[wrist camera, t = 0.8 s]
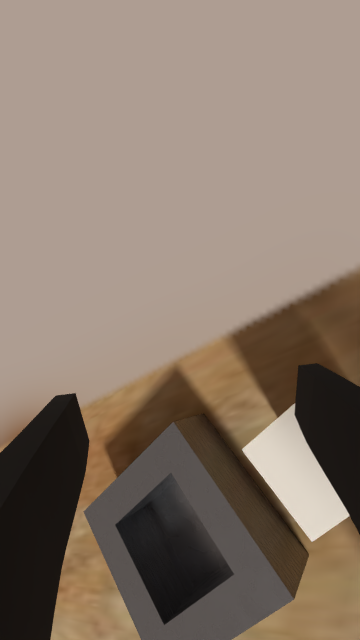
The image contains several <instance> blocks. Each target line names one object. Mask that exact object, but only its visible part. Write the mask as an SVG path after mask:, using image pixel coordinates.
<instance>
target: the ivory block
mask: <svg viewBox="0 0 360 640" xmlns="http://www.w3.org/2000/svg"><path fill="white" fill-rule="evenodd" d="M294 414H295V403H294V404H293V405H292V406H291V407H290V408H289V409H288V410H286V411H285V412H284V413H283V414H282V415H281V416H280V417H278V418H277V419H276V420H275V421H274V422H273V423H272V424H270V425H269V426H268V427H267V428H266V429H265V430H264V431H263V432H261V433H260V434H259V435H258V436H257V437H256V438H255V439H253V440H252V441H251V442H250V443H249V444H248V445H247V446H245V447H244V448H243V449H242V451H243V452H244V453H245V455H246V456H247V457H248V459H249V460H250V461H251V463H252V464H253V465H254V467H255V468H256V469H257V471H258V472H259V473H260V474H261V476H262V477H263V478H264V480H265V481H266V482H267V484H268V485H269V486H270V488H271V489H272V490H273V491H274V493H275V494H276V495H277V497H278V498H279V499H280V501H281V502H282V503H283V505H284V506H285V507H286V509H287V510H288V511H289V512H290V514H291V515H292V516H293V518H294V519H295V520H296V522H297V523H298V524H299V526H300V527H301V528H302V530H303V531H304V532H305V533H306V535H307V536H308V537H309V539H310V540H311V541H312V542H313V541H314V540H316V539H317V538H318V537H320V536H321V535H323V534H324V533H326V532H327V531H328V530H330V529H331V528H333V527H334V526H336V525H337V524H339V523H340V522H341V521H343V520H344V519H346V518H347V517H349V516H350V515H349V513H348V512H347V510H346V508H345V507H344V505H343V503H342V502H341V500H340V498H339V497H338V495H337V493H336V492H335V490H334V488H333V487H332V485H331V483H330V482H329V480H328V478H327V477H326V475H325V473H324V472H323V470H322V468H321V467H320V465H319V463H318V461H317V460H316V458H315V456H314V455H313V453H312V451H311V450H310V448H309V446H308V444H307V442H306V440H305V438H304V436H303V434H302V431H301V429H300V427H299V424H298V422H297V420H296V417H295V415H294Z"/></svg>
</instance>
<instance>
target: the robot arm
mask: <svg viewBox="0 0 360 640" xmlns="http://www.w3.org/2000/svg"><path fill="white" fill-rule="evenodd" d="M294 415H295V417H296V420H297V422H298V424H299V427H300V429H301V431H302V434H303V436H304V438H305V440H306V442H307V444H308V446H309V448H310V450H311V451H312V453H313V455H314V456H315V458H316V460H317V461H318V463H319V465H320V467H321V468H322V470H323V472H324V473H325V475H326V477H327V478H328V480H329V482H330V483H331V485H332V487H333V488H334V490H335V492H336V493H337V495H338V497H339V498H340V500H341V502H342V503H343V505H344V507H345V508H346V510H347V512H348V513H349V515H350V517H351V519H352V521H353V523H354V524H355V526H356V528H357V530H358V532H359V534H360V387H359V386H357V385H355V384H353V383H352V382H350V381H348V380H346V379H345V378H343V377H341V376H339V375H338V374H336V373H334V372H332V371H331V370H329V369H327V368H325V367H323V366H321V365H319V364H317V363H316V364H308V365H300V366H298V378H297V390H296V402H295V414H294ZM88 448H89V438H88V435H87V431H86V428H85V424H84V421H83V418H82V414H81V411H80V407H79V404H78V401H77V397H76V394H75V393H74V394H66V395H58V396H55V397H54V398H53V399H52V400H51V401H50V402H49V403H48V404H47V405H46V406H45V407H44V409H43V410H42V411H41V412H40V413H39V414H38V415H37V416H36V417H35V418H34V419H33V420H32V421H31V422H30V423H29V424H28V425H27V426H26V428H25V429H23V430H22V432H21V433H20V434H19V435H18V436H17V437H16V438H15V439H14V440H13V441H12V442H11V443H10V444H9V445H8V446H7V447H6V448H5V449H4V450H3V451H2V452H1V453H0V640H50V637H51V631H52V624H53V617H54V611H55V605H56V599H57V593H58V587H59V581H60V575H61V569H62V564H63V560H64V555H65V551H66V547H67V543H68V539H69V535H70V531H71V527H72V523H73V520H74V516H75V512H76V508H77V504H78V500H79V496H80V492H81V488H82V484H83V480H84V476H85V471H86V464H87V457H88Z"/></svg>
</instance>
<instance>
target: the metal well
mask: <svg viewBox="0 0 360 640" xmlns="http://www.w3.org/2000/svg"><path fill="white" fill-rule="evenodd" d="M84 514H85V516H86V518H87V520H88V523H89V525H90V527H91V529H92V532H93V534H94V536H95V538H96V540H97V543H98V545H99V547H100V549H101V551H102V554H103V556H104V558H105V560H106V563H107V565H108V567H109V569H110V571H111V574H112V576H113V578H114V580H115V582H116V585H117V587H118V589H119V591H120V594H121V596H122V598H123V600H124V602H125V605H126V607H127V609H128V611H129V613H130V616H131V618H132V620H133V622H134V625H135V627H136V629H137V631H138V633H139V636H140V638H141V640H232V639H233V638H235V637H236V636H238V635H239V634H241V633H243V632H244V631H246V630H247V629H249V628H250V627H252V626H253V625H255V624H257V623H258V622H260V621H261V620H263V619H264V618H266V617H267V616H269V615H271V614H272V613H274V612H275V611H277V610H278V609H280V608H281V607H283V606H285V605H286V604H288V603H289V602H291V601H292V600H294V598H295V595H296V592H297V589H298V586H299V583H300V580H301V577H302V574H303V571H304V568H305V566H306V563H307V560H308V557H309V554H308V553H307V552H306V550H305V549H304V548H303V546H302V545H301V544H300V542H299V541H298V540H297V538H296V537H295V536H294V534H293V533H292V532H291V530H290V529H289V528H288V526H287V525H286V523H285V522H284V521H283V519H282V518H281V517H280V515H279V514H278V513H277V511H276V510H275V509H274V507H273V506H272V505H271V503H270V502H269V501H268V499H267V498H266V497H265V495H264V494H263V493H262V491H261V490H260V489H259V487H258V486H257V485H256V483H255V482H254V480H253V479H252V478H251V476H250V475H249V474H248V472H247V471H246V470H245V468H244V467H243V466H242V464H241V463H240V462H239V460H238V459H237V458H236V456H235V455H234V454H233V452H232V451H231V450H230V448H229V447H228V446H227V444H226V443H225V442H224V440H223V439H222V438H221V436H220V435H219V433H218V432H217V431H216V429H215V428H214V427H213V425H212V424H211V423H210V421H209V420H208V419H207V417H206V416H205V415H204V414H200V415H196V416H192V417H189V418H185V419H181V420H178V421H174V422H172V423H171V424H170V425H169V426H168V427H167V428H166V429H165V430H164V431H163V432H162V433H161V434H160V435H159V436H158V437H157V439H156V440H155V441H154V442H153V443H152V444H151V445H150V446H149V447H148V448H147V449H146V450H145V451H144V452H143V453H142V454H141V455H140V456H139V457H138V458H137V459H136V460H135V461H134V462H133V463H132V464H131V465H130V466H129V467H128V468H127V469H126V470H125V471H124V472H123V473H122V474H121V475H120V476H119V477H118V478H117V479H116V480H115V481H114V482H113V483H112V484H111V485H110V486H109V487H108V488H107V489H106V490H105V491H104V492H103V493H102V494H101V495H100V496H99V497H98V498H97V499H96V500H95V501H94V502H93V503H92V504H91V505H90V506H89V507H88V508H87V509H86V510H85V511H84Z"/></svg>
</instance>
